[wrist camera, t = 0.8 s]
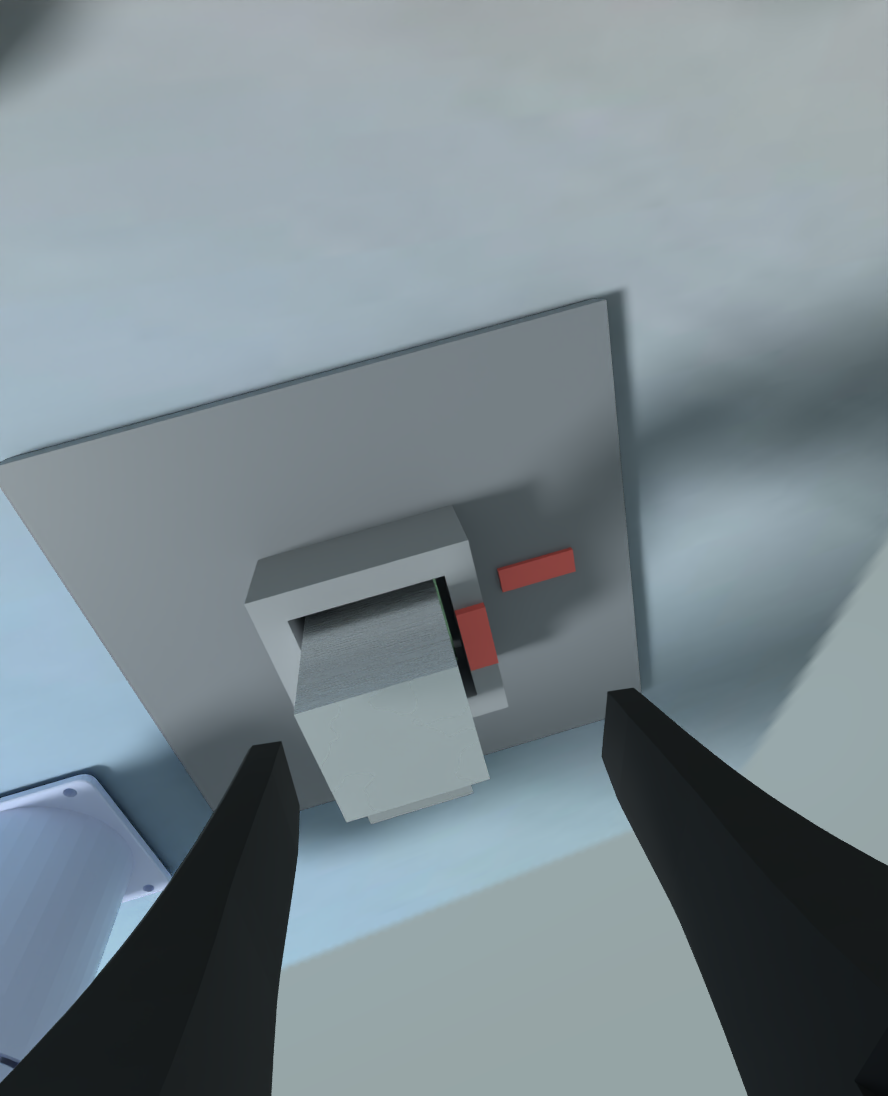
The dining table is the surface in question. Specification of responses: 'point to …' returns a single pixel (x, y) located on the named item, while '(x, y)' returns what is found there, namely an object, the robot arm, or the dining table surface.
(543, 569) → the jack base
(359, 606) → the white rectangular block
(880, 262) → the dining table surface
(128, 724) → the dining table surface
